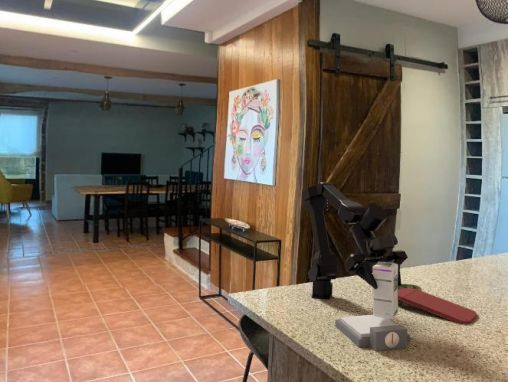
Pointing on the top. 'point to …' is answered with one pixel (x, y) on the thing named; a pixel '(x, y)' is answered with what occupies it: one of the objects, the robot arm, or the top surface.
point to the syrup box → (385, 290)
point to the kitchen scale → (373, 332)
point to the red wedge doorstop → (437, 306)
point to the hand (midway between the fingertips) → (388, 287)
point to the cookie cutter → (409, 287)
